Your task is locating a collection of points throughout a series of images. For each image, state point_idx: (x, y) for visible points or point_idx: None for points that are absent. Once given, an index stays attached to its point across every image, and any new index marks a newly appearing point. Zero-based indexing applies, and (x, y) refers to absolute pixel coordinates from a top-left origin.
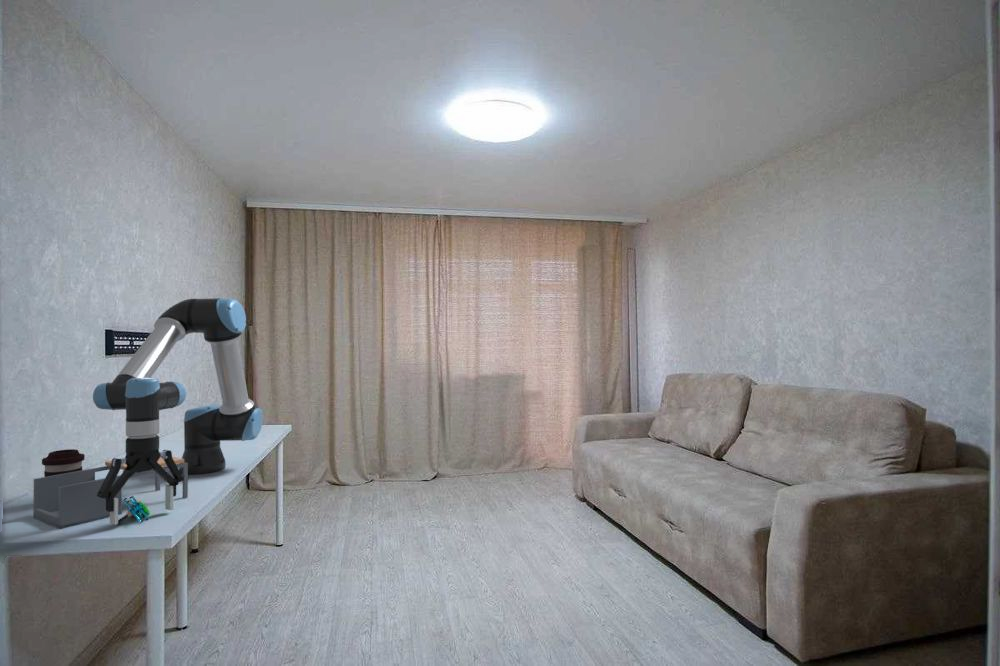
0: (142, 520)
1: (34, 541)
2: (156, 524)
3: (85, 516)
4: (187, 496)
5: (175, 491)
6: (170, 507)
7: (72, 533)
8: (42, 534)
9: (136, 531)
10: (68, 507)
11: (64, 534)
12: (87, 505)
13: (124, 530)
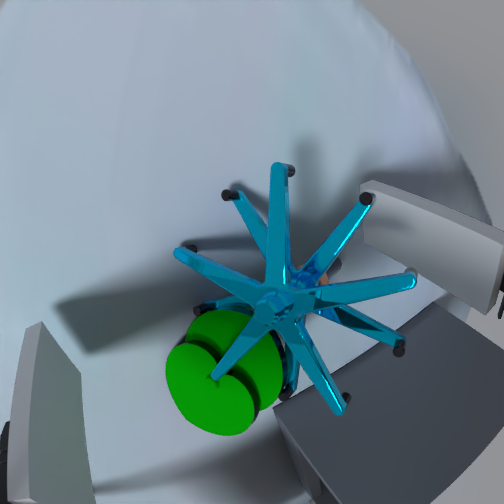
0: (231, 193)
1: (483, 214)
2: (150, 86)
3: None
4: None
5: (3, 457)
6: (39, 336)
7: None
8: None
9: (286, 26)
10: (470, 349)
11: None
12: (423, 382)
13: (330, 104)
